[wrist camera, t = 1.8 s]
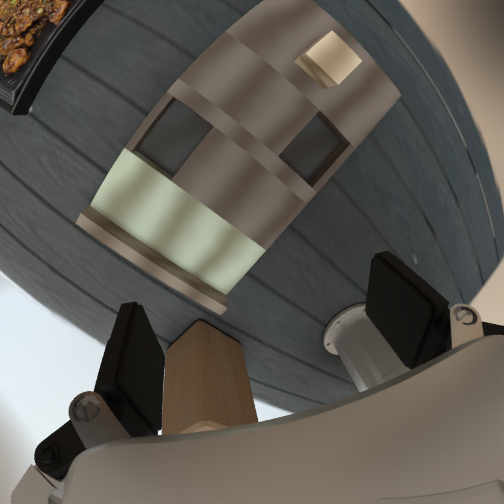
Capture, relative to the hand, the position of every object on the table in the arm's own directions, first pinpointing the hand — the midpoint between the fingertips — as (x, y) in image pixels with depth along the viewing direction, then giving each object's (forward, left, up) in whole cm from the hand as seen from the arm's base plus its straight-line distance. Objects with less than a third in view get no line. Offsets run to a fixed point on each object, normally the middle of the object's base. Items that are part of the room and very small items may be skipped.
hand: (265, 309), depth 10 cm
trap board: (+1, -7, -26) cm, 27 cm away
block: (-15, +24, -27) cm, 39 cm away
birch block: (+1, -20, -23) cm, 31 cm away
